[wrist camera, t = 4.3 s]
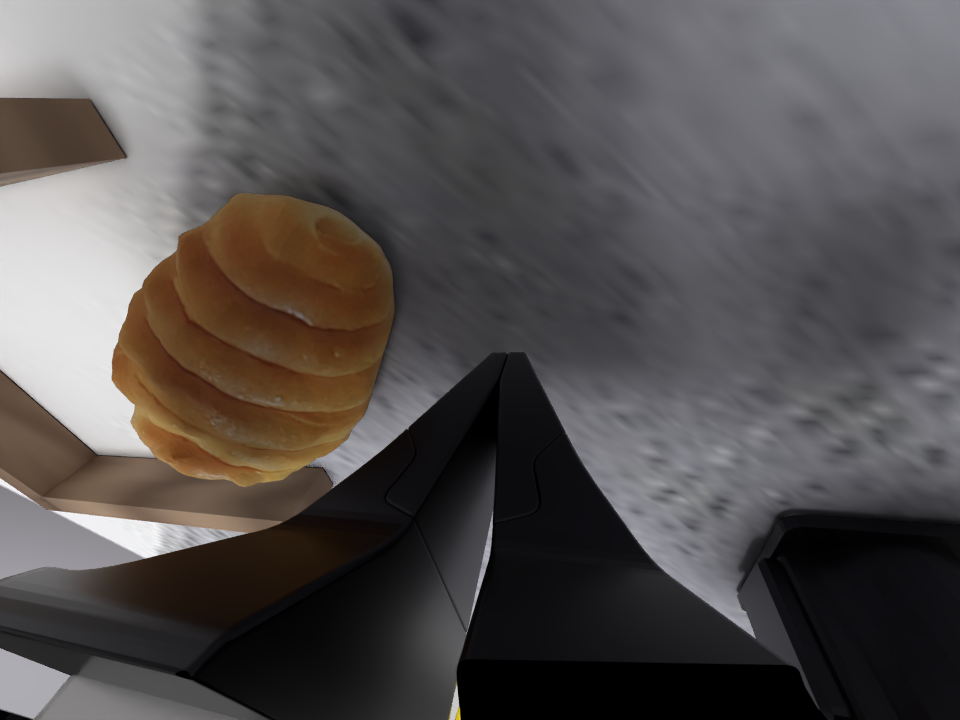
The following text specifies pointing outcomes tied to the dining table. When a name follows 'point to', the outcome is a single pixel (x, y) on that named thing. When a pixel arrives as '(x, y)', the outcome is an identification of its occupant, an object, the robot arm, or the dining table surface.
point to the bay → (58, 453)
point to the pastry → (256, 340)
